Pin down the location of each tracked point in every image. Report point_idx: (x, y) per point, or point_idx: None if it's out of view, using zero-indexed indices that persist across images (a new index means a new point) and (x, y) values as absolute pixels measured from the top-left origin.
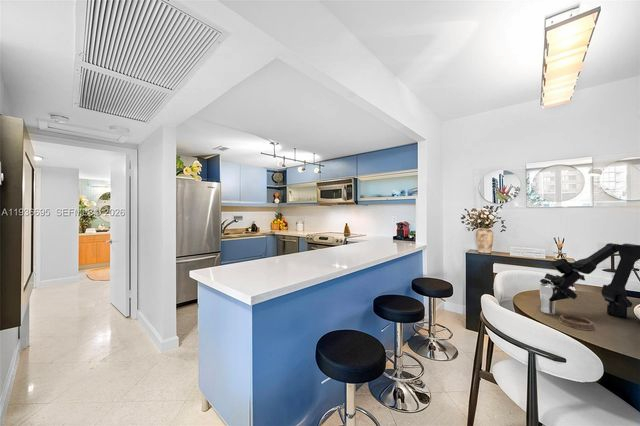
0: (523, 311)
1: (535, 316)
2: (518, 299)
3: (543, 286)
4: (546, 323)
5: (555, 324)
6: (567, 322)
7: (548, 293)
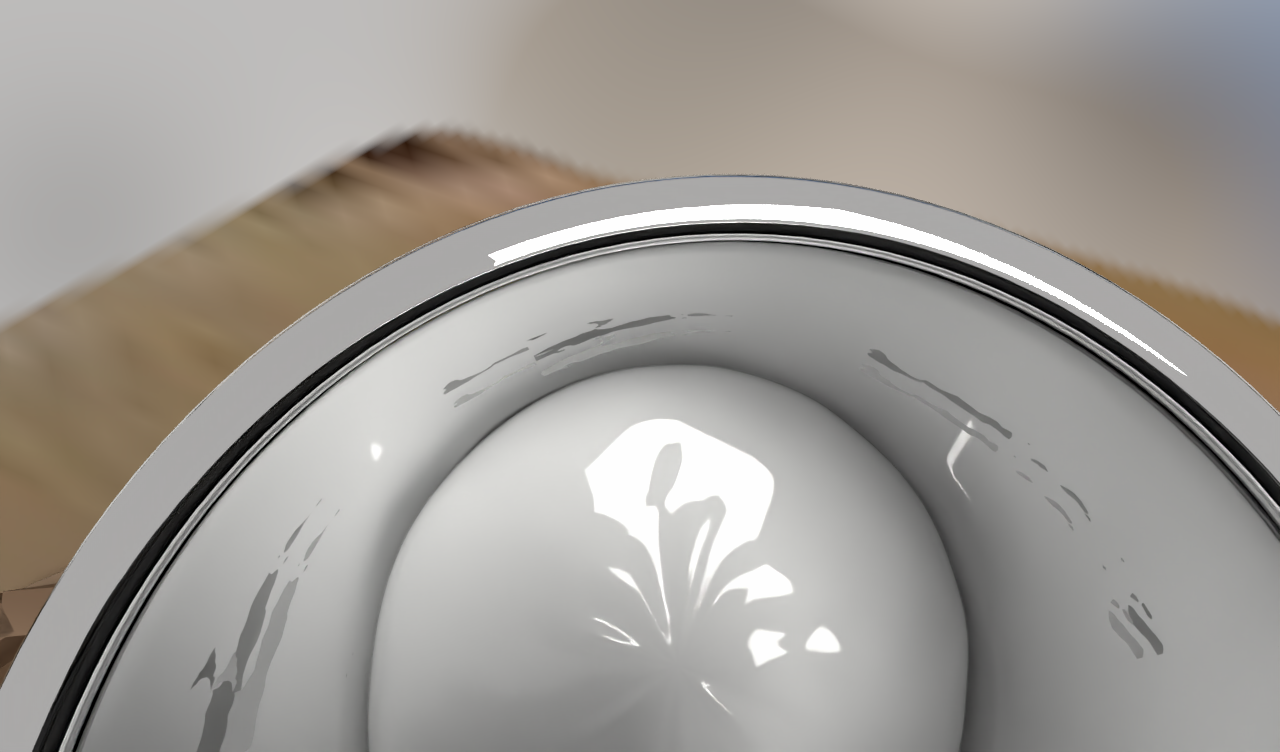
0: (532, 163)
1: (347, 262)
2: (1181, 298)
3: (383, 285)
4: (69, 309)
5: (53, 433)
6: None
7: (337, 557)
